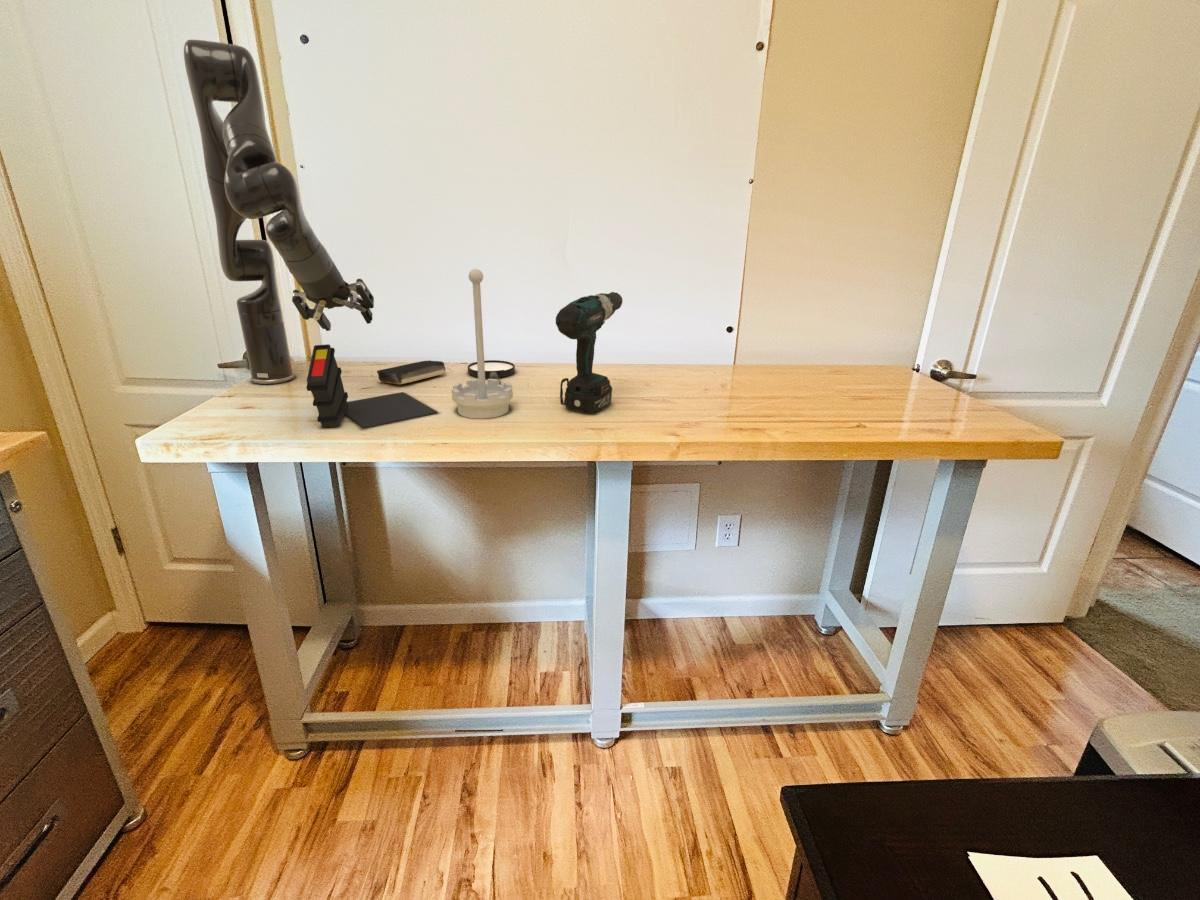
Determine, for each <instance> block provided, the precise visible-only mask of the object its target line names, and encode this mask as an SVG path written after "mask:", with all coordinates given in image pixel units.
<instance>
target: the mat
mask: <svg viewBox="0 0 1200 900" xmlns="http://www.w3.org/2000/svg"><path fill="white" fill-rule="evenodd" d="M347 404H348V409H347V411H346V413H345V414H344V416H346V417H347V418H349V419H350V420H351V421H353V422H354V423H356V425H358V426H359V427H361V428H362V429H368V428H373V427H377V426H383V425H388V424H392V423H398V422H402V421H407V420H412V419H416V418H421V417H426V416H430V415H436V414H438V411H437V410H435V409H434V408H433V407H430V406H428V405H427V404H425V403H423V402H421V401H419V400H418V399H416V398H415V397H413V396H411V395H409V394H407V393H406V392H403V391H400V392H395V393H391V394H384V395H378V396H373V397H368V398H362V399H356V400H350V401H347Z"/></svg>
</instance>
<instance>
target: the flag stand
mask: <svg viewBox="0 0 1200 900" xmlns="http://www.w3.org/2000/svg"><path fill="white" fill-rule="evenodd" d="M468 280H469V281H470V282H471V283H472V295H473V297H472V298H473V312H474V313H473V314H474V315H473V316H474V330H475V331H474V333H475V349H476V362H477V368H478V377H477V378H472V379H466V385H463V384H462V383H461V382H457V383H454V384H453V385H452V388H451V399H452V401H453V402H454V403H455V404H457V413H458V414H459V415H460V416H463V417H466V418H469V419H470V418H471V419H491V418H497V417H501V416H504V415H506V414H508V412H509V411H510V408H509V407H510V406H509V405H510V404H509V402H510V401H511V400H512V399H513V398H514V391H513V384H512V383H511V382H509V381H504V382H503V383H502V384H501V385H499V380H500V379H499V380H498V379H490V378H487V383H486V378H485V365H484V361H485V349H484V347H485V346H484V331H483V330H484V329H483V327H484V326H483V313H482V312H483V309H482V294H481V293H482V292H481V283H482V282H483V280H484V273H483V272H482V270H481V269H479V268H473V269H471V270H470V271H469V272H468Z"/></svg>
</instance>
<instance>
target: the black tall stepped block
mask: <svg viewBox="0 0 1200 900" xmlns="http://www.w3.org/2000/svg"><path fill="white" fill-rule="evenodd" d="M335 352H336V350H335V347H332V346H331V344H329V343H328V344H315V345H314V346H313V349H312V354H311V358H310V363H309V368H308V373H307V377H306V390H307V392H311V394H312V397H313V401H312V406H313V407H316V409H317V413H318V416H317V418H316V421H317V422H320V425H321V427H322V428H323V429H324V428H335V427H336V428H337V427H338V426H339V425H340V423H341V421H342V419H343V418H344V417H345V413H346V411H347V409H348V404H347V402H348V401H347V400H348V398H349V393H348V392H347V391H345V388H344V383H343V380H342V377H341V376H342V372H343V371H342V368H341V367H339V366H338V363H337V360H336V357H335Z"/></svg>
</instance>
